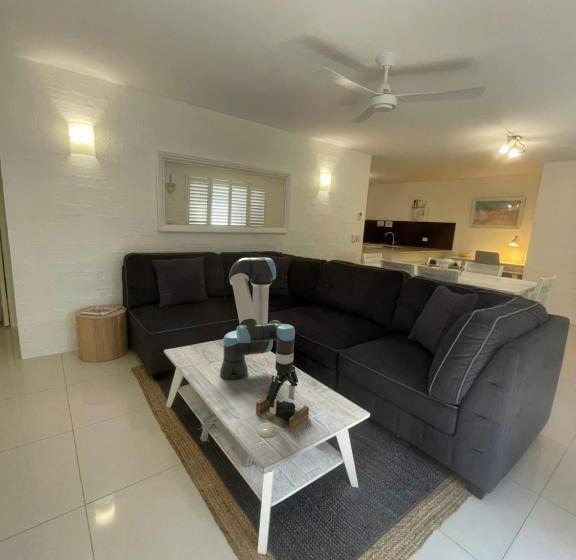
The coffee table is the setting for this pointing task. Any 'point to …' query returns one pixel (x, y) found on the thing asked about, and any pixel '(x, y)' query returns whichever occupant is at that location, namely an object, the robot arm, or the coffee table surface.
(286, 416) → the mineral
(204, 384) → the coffee table surface
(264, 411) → the rest
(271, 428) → the cream glossy rounded part
